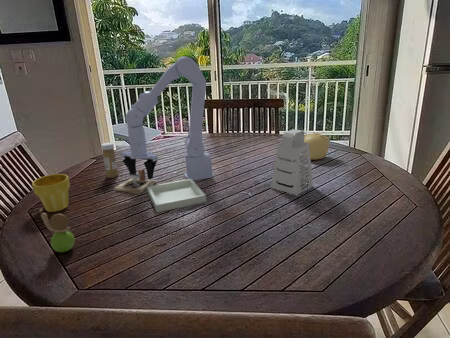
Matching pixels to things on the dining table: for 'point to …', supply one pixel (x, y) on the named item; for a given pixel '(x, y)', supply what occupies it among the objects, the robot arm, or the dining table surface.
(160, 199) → the sage tray
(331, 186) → the dining table surface
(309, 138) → the yellow round pot
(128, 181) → the birch frame
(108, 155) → the sprinkles bottle
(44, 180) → the plant pot
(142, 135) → the robot arm
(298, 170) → the grater
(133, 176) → the T-head stake
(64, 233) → the snail figurine
